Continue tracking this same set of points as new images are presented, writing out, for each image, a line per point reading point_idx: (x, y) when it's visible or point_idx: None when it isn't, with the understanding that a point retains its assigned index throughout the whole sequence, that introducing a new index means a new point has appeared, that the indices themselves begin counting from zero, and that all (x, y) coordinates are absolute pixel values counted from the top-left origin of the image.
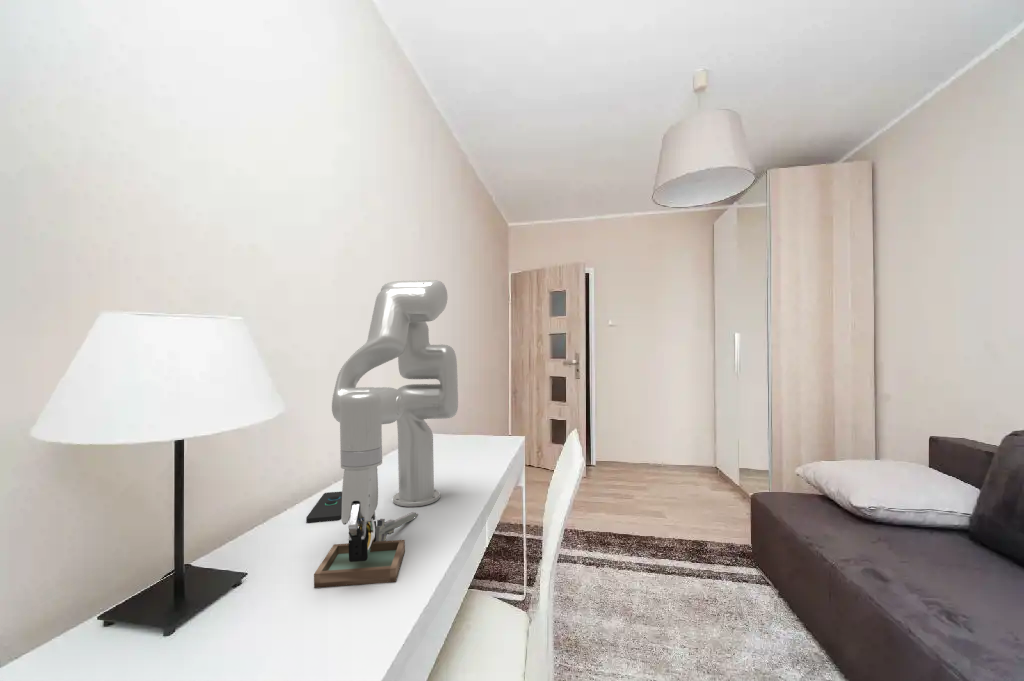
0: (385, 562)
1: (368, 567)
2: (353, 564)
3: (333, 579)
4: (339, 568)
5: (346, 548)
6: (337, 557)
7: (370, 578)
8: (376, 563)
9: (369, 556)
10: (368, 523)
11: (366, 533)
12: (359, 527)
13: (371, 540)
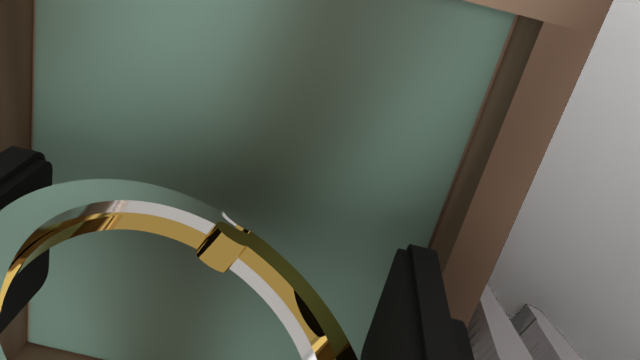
0: (196, 334)
1: (154, 235)
2: (238, 139)
3: None
4: (203, 30)
5: (499, 101)
6: (435, 8)
7: None
8: (200, 285)
9: (338, 252)
10: None
11: (382, 356)
12: (410, 349)
13: (305, 354)
